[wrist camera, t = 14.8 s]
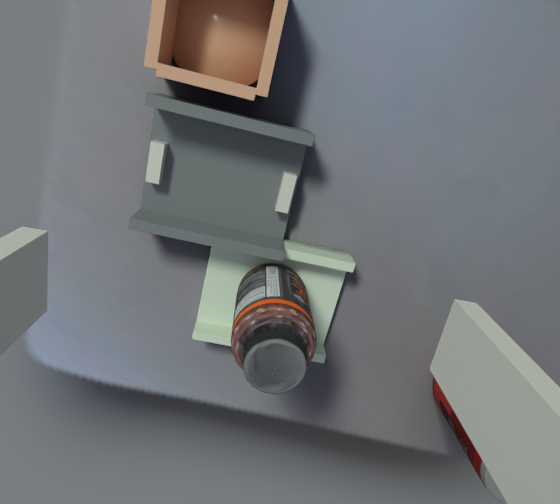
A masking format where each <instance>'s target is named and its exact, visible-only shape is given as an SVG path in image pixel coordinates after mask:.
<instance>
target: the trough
mask: <svg viewBox="0 0 560 504" xmlns="http://www.w3.org/2000/svg"><path fill="white" fill-rule="evenodd" d="M283 243H284V249H285V253H284V257H283V261H278V260H273V259H269V258H264V257H259V256H255V255H250V254H245V253H241V252H236V251H231V250H226V249H222V248H217V247H212V246H211V251H210V256H209V261H208V266H207V271H206V276H205V281H204V286H203V291H202V296H201V301H200V306H199V311H198V316H197V321H196V324H195V328H194V331H193V336H192V339H195V340H200V341H206V342H211V343H216V344H222V345H227V346H231V334H232V326H233V318H234V311H235V303H236V296H237V291H238V287H239V284H240V282H241V280H242V278H243V277H244V276H245V275H246V274H247V272H249V271H250V270H251V269H253V268H255V267H257V266H259V265H262V264H267V263H278V264H282V265H286V266H287V267H289V268H291V269H292V270H294V271H295V272H296V273H297V274H298V275H299V276H300V278H301V279H302V281H303V283H304V285H305V287H306V291H307V295H308V300H309V304H310V309H311V313H312V317H313V321H314V325H315V331H316V337H317V346H316V351H315V354H314V357H313V359H312V361H313V362H318V363H323V364H324V361H325V358H326V353H325V349H324V341H325V338H326V335H327V332H328V329H329V325H330V322H331V319H332V316H333V313H334V310H335V306H336V303H337V300H338V297H339V294H340V290H341V287H342V284H343V281H344V278H345V275H346V271H347V272H352V273H353V271H354V267H355V264H356V263H355V262H354V260H353V258H352V256H351V255H350V253H348V252H343V251H339V250H334V249H330V248H325V247H320V246H316V245H311V244H307V243H302V242H298V241H293V240H288V239H284V238H283Z"/></svg>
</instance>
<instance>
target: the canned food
mask: <svg viewBox="0 0 560 504" xmlns="http://www.w3.org/2000/svg"><path fill="white" fill-rule="evenodd" d="M433 391H434V396H435V400H436V402H437V403H438V405H439V407H440V409H441V411H442V412H443V414H444V416H445V418H446V419H447V421H448V423H449V425H450V427H451V428H452V430H453V432H454V434H455V435H456V437H457V439H458V441H459V442H460V444H461V446H462V448H463V449H464V451H465V453H466V455H467V456H468V458H469V460H470V462H471V464H472V465H473V467H474V469H475V471H476V472H477V474H478V476H479V477H480V479H481V481H482V482H483V484H484V486H485V487H486V488H487V489H488V491H489V493H490V494H491V495H492V496H493V497H494V498H495V499H497V500H498V501H500V502H502V503H504V504H507V502H506V500H505V499H504V497H503V495H502V493H501V492H500V490H499V488H498V487H497V485H496V483H495V481H494V480H493V478H492V476H491V474H490V473H489V471H488V469H487V468H486V466H485V464H484V462H483V461H482V459H481V457H480V455H479V454H478V452H477V450H476V448H475V447H474V445H473V443H472V442H471V440H470V438H469V436H468V435H467V433H466V431H465V429H464V428H463V426H462V424H461V422H460V421H459V419H458V417H457V416H456V414H455V412H454V410H453V409H452V407H451V405H450V403H449V402H448V400H447V398H446V396H445V395H444V393H443V391H442V390H441V388H440V386H439V384H438V383H437V381H436V379H435V377H434V379H433Z"/></svg>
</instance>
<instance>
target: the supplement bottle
mask: <svg viewBox="0 0 560 504" xmlns="http://www.w3.org/2000/svg"><path fill="white" fill-rule="evenodd" d="M316 346H317V337H316V331H315V325H314V321H313V317H312V313H311V309H310V304H309V300H308V295H307V291H306V287H305V285H304V283H303V281H302V279H301V278H300V276H299V275H298V274H297V273H296V272H295V271H294V270H292V269H291V268H289V267H287V266H286V265H282V264H278V263H267V264H262V265H259V266H257V267H255V268H253V269H251V270H250V271H249V272H247V274H246V275H245V276H244V277H243V278H242V280H241V282H240V284H239V287H238V291H237V296H236V303H235V311H234V318H233V326H232V334H231V349H232V353H233V356H234V358H235V360H236V362H237V364H238V365H239V366H240V368H241V369H242V370H243V371H244V374H245V377H246V379H247V381H248V382H249V383H250V384H251V385H252V386H253V387H254V388H256V389H258V390H260V391H262V392H265V393H271V394H278V393H284V392H287V391H289V390H291V389H293V388H294V387H296V386H297V385H298V384H299V383H300V382H301V381H302V379H303V378H304V376H305V373H306V369H307V366H308V365H309V364H310V362H311V361H312V359H313V357H314V354H315V351H316Z"/></svg>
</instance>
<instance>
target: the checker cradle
mask: <svg viewBox="0 0 560 504" xmlns="http://www.w3.org/2000/svg"><path fill="white" fill-rule="evenodd" d="M145 105H146V106H150V107H154V108H155V111H154V118H153V125H152V132H151V139H150V146H149V154H148V161H147V168H146V175H145V182H144V189H143V196H142V203H141V209H140V210H139V211H137V212H136V213H135V214H134V215H133V216H132V217H131V218H130V222H129V229H132V230H137V231H142V232H147V233H151V234H156V235H161V236H165V237H170V238H175V239H179V240H184V241H189V242H194V243H198V244H203V245H208V246H212V247H217V248H222V249H226V250H231V251H236V252H241V253H245V254H250V255H255V256H259V257H264V258H269V259H273V260H278V261H283V257H284V253H285V249H284V243H283V238H284V234H285V230H286V226H287V222H288V218H289V214H290V210H291V206H292V203H293V199H294V195H295V191H296V187H297V183H298V179H299V175H300V171H301V167H302V164H303V160H304V156H305V152H306V148H307V145H308V146H313V142H314V138H315V135H314V134H313V133H312V132H310V131H308V130H304V129H300V128H296V127H292V126H288V125H284V124H280V123H276V122H272V121H268V120H264V119H260V118H256V117H252V116H248V115H244V114H240V113H236V112H232V111H228V110H224V109H220V108H216V107H212V106H208V105H204V104H200V103H196V102H192V101H188V100H184V99H180V98H176V97H172V96H168V95H164V94H160V93H147V95H146V102H145Z"/></svg>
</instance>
